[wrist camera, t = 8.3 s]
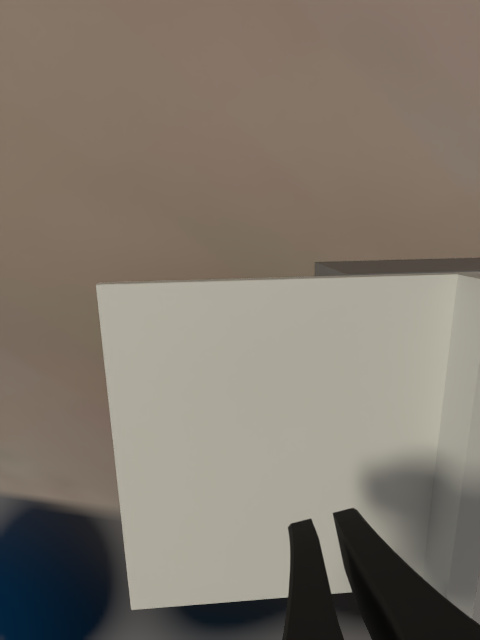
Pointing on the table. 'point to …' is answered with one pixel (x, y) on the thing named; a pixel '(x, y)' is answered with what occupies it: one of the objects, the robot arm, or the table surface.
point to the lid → (292, 427)
